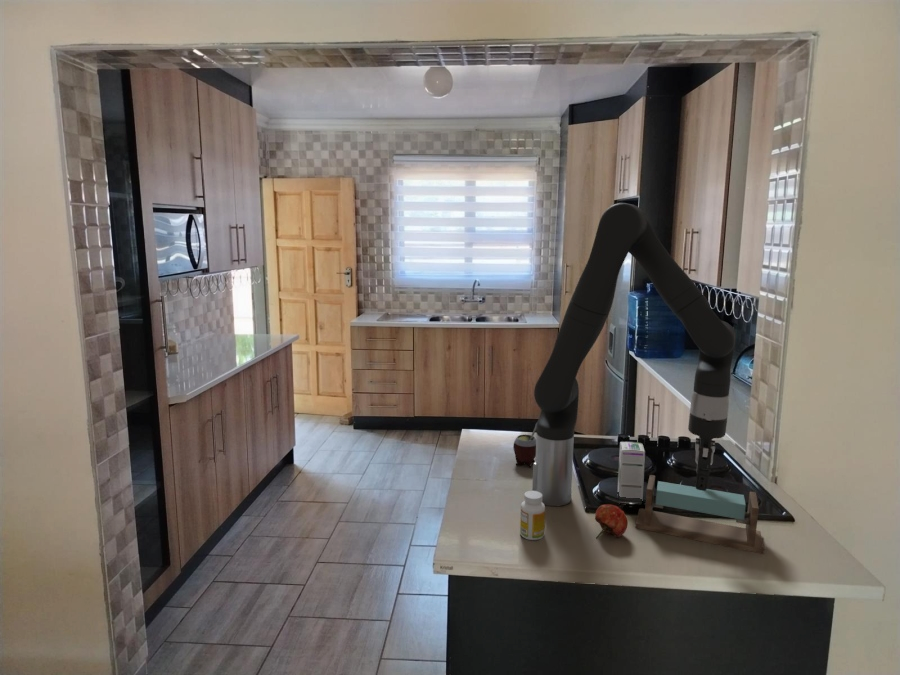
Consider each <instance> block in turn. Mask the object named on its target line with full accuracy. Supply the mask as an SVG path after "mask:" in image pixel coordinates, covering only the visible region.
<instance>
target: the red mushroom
mask: <svg viewBox="0 0 900 675" xmlns="http://www.w3.org/2000/svg"><path fill="white" fill-rule="evenodd" d="M624 506H625V504H621V505H620V506H617V505H614V504H610V503H609V504H601V505H600V506H598V508H597V509H596V511H595V515H594V520H595V521H596V523H598V524H599V526H600V527H601V530H600V533H598V534H597V536H596V537H595V539H598V538H599V537H600V536H601V535H602V534H603V533H604V531H605V532H607V533H608V534H611V535H612V536H613V537H616V538H619V537H622V536H623V535H624V534H625V533H626V531H627V528H628V525H629V524H628V523H629V522H628V516H627V515H626V514H625V512H624V510H623V508H624Z"/></svg>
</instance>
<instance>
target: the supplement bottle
mask: <svg viewBox="0 0 900 675" xmlns="http://www.w3.org/2000/svg"><path fill="white" fill-rule="evenodd" d="M545 523H546V506H545V504H543V503H542V494H541V493H540V492H538V491H532V490H528V491H525V493H524V496H523V501H522V502H521V504H520V521H519V524H520V526H519V528H520V529H519V530H520V531H519V533H520V535H521V537H523V538H524V539H526V540H528V541H537V540H541V539H543V538H544V536H545Z"/></svg>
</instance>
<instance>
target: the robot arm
mask: <svg viewBox="0 0 900 675" xmlns="http://www.w3.org/2000/svg"><path fill="white" fill-rule="evenodd" d="M628 254H630V255H631V256H632V257H633V258H634V259H635V260H636V261H637V262H638V264H639V265H640V266H641V267H642V269H643V271H644V272H645V274H646V275H647V276H648V278H649V280H650V281H651V284H652V285H653V287H654V288H655V290H656V291H657V293H658V295H659V296H660V298H661V299H662V300H663V302H664V303H665V304H666V305H667V306H668V308H669V309H670V310H671V311H672V313H673V314H674V315H675V317H676V318H678V320H680V322H681V323H682V325H683V326H684V328H685V330H686V331H687V333H688V335H689V336H690V338H691V340H692V341H693V343H694V344H695V346H696V347H697V348H698V349H699V351H698V352H699V353H698V363H697V367H696V370H695V375H694V381H693V382H694V383H693V391H692V396H691V399H690V408H689V416H688V417H689V418H688V428H687V430H688V432H689V433H691V434H692V435H694V436H698V437H696V438H695V444H694V446H695V447H694V448H695V457H694V458H695V460H694V461H695V463H696V469H695V472H696V473H695V474H696V481H695V487H696V489H697V490H702V491H706V490H707V489H708V479H709V476H710V475H711V466H712V465H713V462H714V453H715V450H716V440H714V439H723V437H725V436H726V433H727V426H728V425H727V424H728V416H729V414H728V413H729V406H730V401H729V399H730V398H729V396H730V387H731V374H732V373H731V367H732V361H733V357H734V356H733V355H734V352H735V345H736V338H737V334H736V331H735V329H734V327H733V326H732V325H731V324H729V323H728V322H726V321H724V320H722V319H720V318H719V316H718V315H717V314H716V313H715V312H714V310H713V309H712V308H711V306H710V302H709V301H708V298H707V297H706V296H705V295H704V294H703V292H702V291H701V289H699V287H698V286H697V285H696V284H695V282H694V281H693V280H692V279H691V278H690V277H689V276H688V274H687V273H686V272H685V271H684V270H683V269H682V267H681V266H680V265H679V264H678V263H677V262H676V261H675V259H674V258H673V257H672V256H671V254H670V253H669V252H668V250H667V249H666V248H665V246H664V245H663V244H662V243H661V240H660V239H659V238H658V236H657V234H656V232H655V231H654V229H653V228H652V226H651V224H650V222H649V220H648V218H647V216H646V214H645V212H644V211H643V209H641V207H639V206H638V205H635V204H633V203H632V204H631V203H626V202H619V203H618V202H617V203H615V204H612V205H611V206H609V207H608V208H607V209H606V210H605V211H604V212H603V214H602V215H601V217H600V219H599V222H598V225H597V229H596V233H595V236H594V241H593V244H592V248H591V250H590V254H589V258H588V260H587V262H586V264H585V267H584V269H583V270H582V273H581V275H580V277H579V280H578V281H577V283H576V286H575V289H574V291H573V294H572V295H571V298H570V301H569V303H568V305H567V308H566V310H565V313H564V316H563V319H562V322H561V324H560V327H559V330H558V333H557V337H556V339H555V342H554V346H553V349H552V352H551V354H550V357H549V359H548V360H547V363H546V364H545V365H544V366H545V367H544V368H543V370H542V371H541V373H540V375H539V378H538V379H537V382H536V383H535V385H534V390H533V395H534V401H535V403H536V404H537V406H538V408H540V409H541V410H540V415H539V417H538V420H537V422H536V423H537V429H536V432H535V433H536V435H535V436H536V437H535V439H536V456H535V462H534V463H532V464H533V465H532V486H531V489H532V490H531V491H538V492H540V493H541V494H542V503H543V504H544V505H546V506H550V507H551V506H552V507H561V506H565V505H567V504H569V503H570V502H571V499H572V484H573V466H574V465H573V463H574V461H573V460H574V441H575V440H574V439H575V438H574V437H575V429H576V428H575V427H576V424H577V421H578V411H579V410H578V409H579V394H580V388H579V382H578V380H577V378H576V377H577V376H578V373H579V370H580V367H581V365H582V363H583V362H584V360H585V358H586V357H587V355H588V354H589V352H590V351H591V349H592V348H593V346H594V345H595V343H596V341H597V340H598V338H599V336H600V335H601V332H602V331H603V329H604V326H605V324H606V322H607V319H608V317H609V315H610V312H611V310H612V308H613V307H612V306H613V303H614V299H615V294H616V290H617V282H618V278H619V275H620V271H621V268H622V266H623V264H624V263H625V260H626V258H627V256H628Z"/></svg>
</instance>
